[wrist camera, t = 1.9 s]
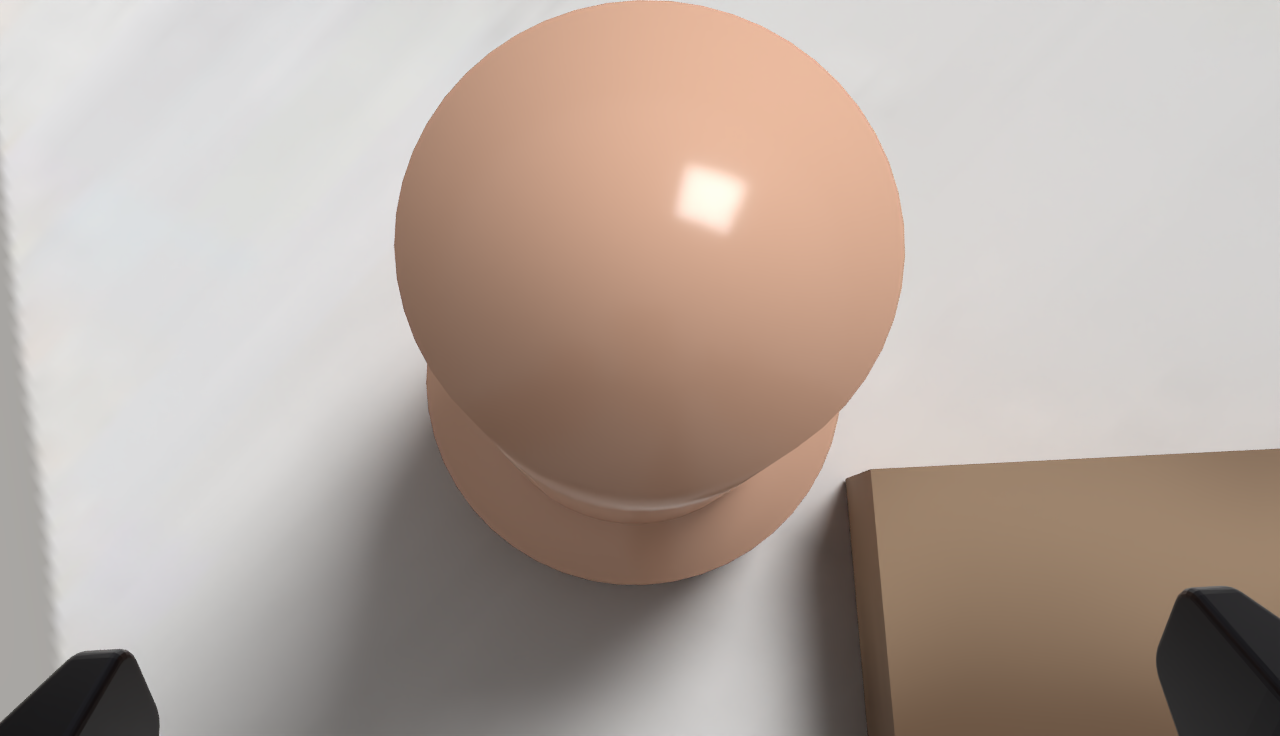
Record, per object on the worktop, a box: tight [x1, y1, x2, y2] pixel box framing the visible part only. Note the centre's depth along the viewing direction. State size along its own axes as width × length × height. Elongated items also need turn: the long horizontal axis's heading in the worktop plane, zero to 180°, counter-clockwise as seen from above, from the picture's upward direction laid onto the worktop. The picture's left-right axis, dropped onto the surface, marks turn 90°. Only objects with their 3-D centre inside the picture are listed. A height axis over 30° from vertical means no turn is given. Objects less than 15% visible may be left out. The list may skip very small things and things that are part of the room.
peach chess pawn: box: [394, 0, 905, 585], centre depth 15 cm, size 6×6×11 cm
